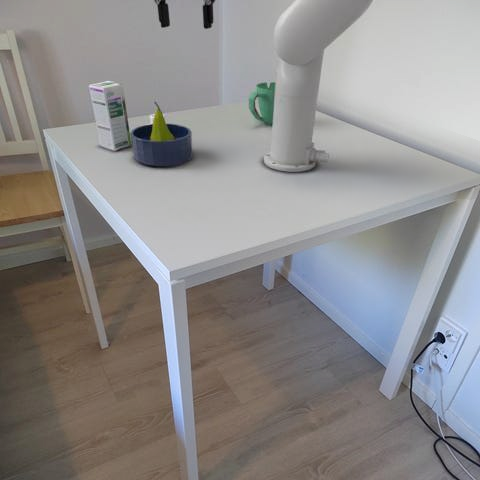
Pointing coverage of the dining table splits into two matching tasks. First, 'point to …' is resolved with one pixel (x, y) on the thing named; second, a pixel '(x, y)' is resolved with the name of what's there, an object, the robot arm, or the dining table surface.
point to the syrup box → (110, 114)
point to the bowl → (162, 146)
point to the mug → (263, 102)
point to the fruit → (160, 128)
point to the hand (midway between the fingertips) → (186, 27)
